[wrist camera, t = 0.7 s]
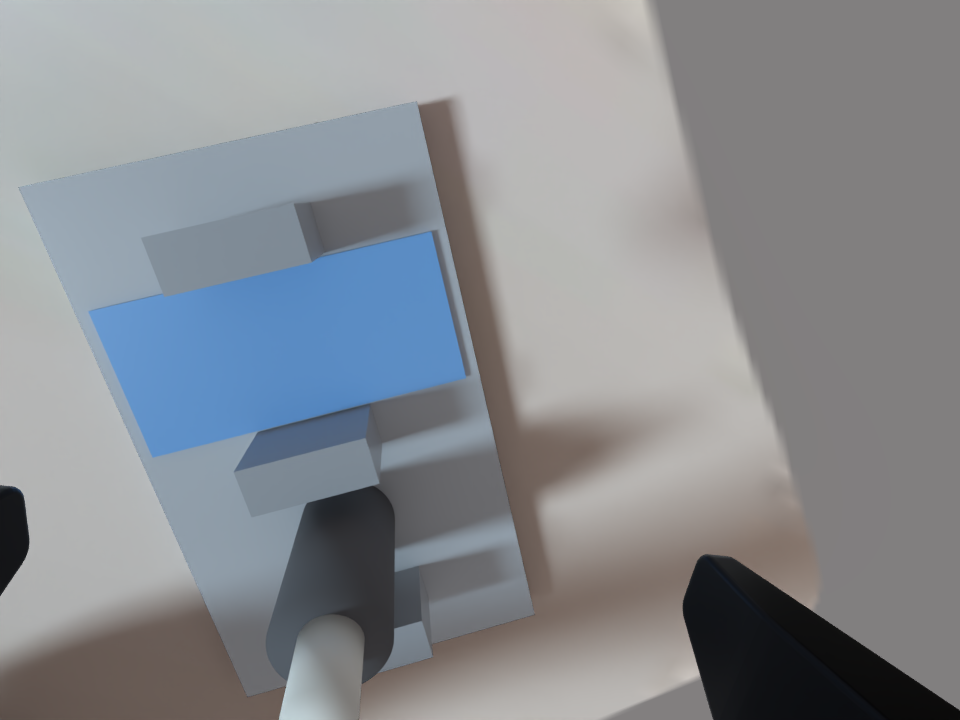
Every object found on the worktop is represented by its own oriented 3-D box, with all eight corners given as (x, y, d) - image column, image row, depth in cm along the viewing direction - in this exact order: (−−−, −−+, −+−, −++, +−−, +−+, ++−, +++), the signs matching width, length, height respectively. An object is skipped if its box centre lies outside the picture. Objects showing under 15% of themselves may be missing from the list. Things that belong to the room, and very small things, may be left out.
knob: (317, 570, 21) (269, 793, 13) (289, 494, 20) (219, 686, 12) (404, 546, 22) (409, 751, 14) (381, 469, 21) (371, 642, 13)
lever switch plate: (253, 676, 23) (225, 769, 20) (39, 187, 17) (-62, 185, 14) (529, 598, 24) (553, 672, 20) (415, 106, 18) (420, 82, 14)
